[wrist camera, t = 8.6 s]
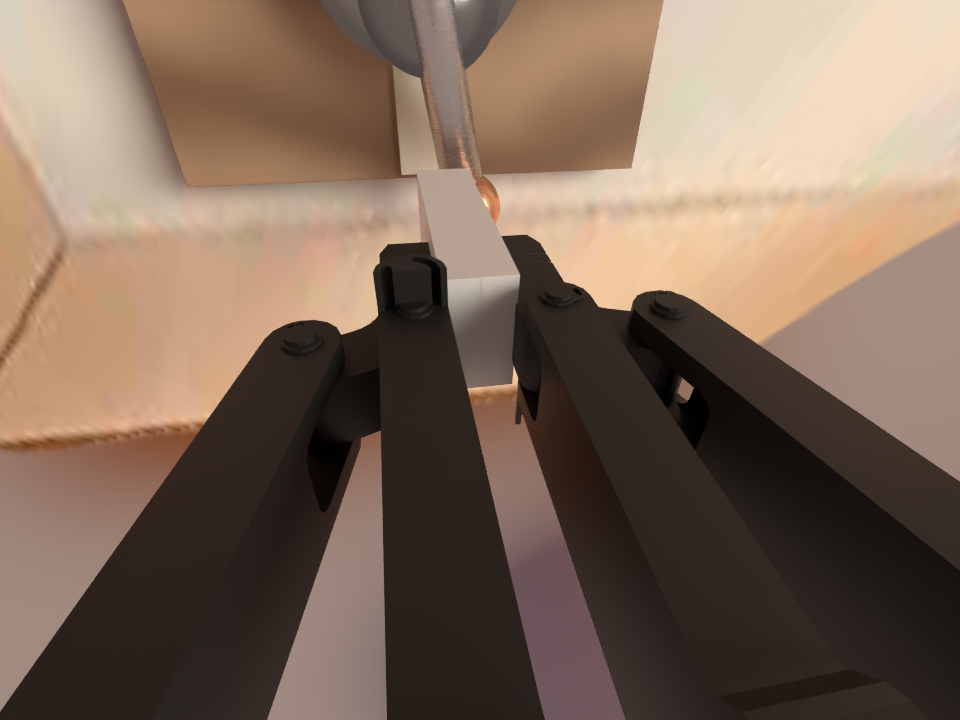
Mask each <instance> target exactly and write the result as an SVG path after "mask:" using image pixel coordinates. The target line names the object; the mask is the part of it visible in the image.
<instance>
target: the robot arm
mask: <svg viewBox="0 0 960 720" xmlns="http://www.w3.org/2000/svg"><path fill="white" fill-rule="evenodd" d="M417 184H418V200H419V216H420V231H421V243H405V244H388V245H387V246H386V247H385V249H384V250H383V251H382V252H381V253H380V263H379V264H378V265H377V266H376V267H375V269H374V272H373V276H374V284H375V291H376V299H377V306H378V317H377V318H376V319H375V320H374V321H373V322H372V323H370V324H369V325H367V326H365V327H363V328H361V329H359V330H356V331H353V332H350V333H346V334H343V335H341V334H340V332H339V330H338V329H337V327H335V326H333V325H331V324H330V323H328V322H323V321H317V320H308V321H297V322H293V323H290V324H287V325H284V326H282V327H280V328H278V329H276V330H274V331H273V332H272V333H271V334H270V335H269V336H268V337H266V338H265V339H264V341H263V342H262V344H261V345H260V346H259V348H258V349H257V351H256V352H255V354H254V355H253V356H252V358H251V359H250V361H249V362H248V363H247V365H246V366H245V368H244V369H243V370H242V372H241V373H240V375H239V376H238V377H237V379H236V380H235V382H234V383H233V384H232V386H231V387H230V389H229V390H228V392H227V393H226V394H225V396H224V397H223V399H222V400H221V401H220V403H219V404H218V406H217V407H216V408H215V410H214V411H213V413H212V414H211V415H210V417H209V418H208V420H207V421H206V423H205V424H204V425H203V427H202V428H201V430H200V431H199V432H198V434H197V435H196V437H195V438H194V439H193V441H192V442H191V444H190V445H189V447H188V448H187V450H186V451H185V452H184V454H183V455H182V456H181V458H180V459H179V461H178V462H177V463H176V465H175V466H174V468H173V469H172V471H171V472H170V473H169V475H168V476H167V477H166V479H165V480H164V482H163V483H162V485H161V486H160V487H159V489H158V490H157V492H156V493H155V494H154V496H153V497H152V499H151V500H150V502H149V503H148V504H147V506H146V507H145V508H144V510H143V511H142V513H141V514H140V516H139V517H138V518H137V520H136V521H135V523H134V524H133V526H132V527H131V528H130V530H129V531H128V533H127V534H126V535H125V537H124V538H123V539H122V541H121V542H120V544H119V545H118V547H117V548H116V549H115V551H114V552H113V554H112V555H111V556H110V558H109V559H108V561H107V562H106V563H105V565H104V566H103V568H102V569H101V571H100V572H99V573H98V575H97V576H96V577H95V579H94V581H93V582H92V583H91V585H90V586H89V587H88V589H87V590H86V592H85V593H84V595H83V596H82V597H81V599H80V600H79V601H78V603H77V604H76V606H75V607H74V608H73V610H72V611H71V613H70V614H69V616H68V617H67V618H66V620H65V621H64V623H63V624H62V626H61V627H60V628H59V630H58V631H57V632H56V634H55V635H54V637H53V638H52V640H51V641H50V642H49V644H48V645H47V647H46V648H45V649H44V651H43V652H42V654H41V655H40V656H39V658H38V659H37V661H36V662H35V663H34V665H33V666H32V668H31V669H30V671H29V672H28V673H27V675H26V676H25V678H24V679H23V680H22V682H21V683H20V685H19V686H18V687H17V689H16V690H15V692H14V693H13V694H12V696H11V697H10V699H9V700H8V701H7V703H6V704H5V706H4V707H3V709H2V710H1V712H0V720H267V718H268V715H269V712H270V710H271V706H272V703H273V701H274V698H275V695H276V692H277V689H278V686H279V683H280V680H281V677H282V674H283V672H284V669H285V666H286V663H287V660H288V657H289V654H290V651H291V648H292V645H293V642H294V640H295V637H296V634H297V630H298V628H299V625H300V622H301V619H302V616H303V613H304V610H305V607H306V604H307V601H308V598H309V596H310V593H311V590H312V587H313V584H314V581H315V578H316V575H317V572H318V569H319V567H320V563H321V561H322V557H323V555H324V552H325V549H326V546H327V543H328V540H329V537H330V534H331V531H332V529H333V525H334V523H335V520H336V517H337V514H338V511H339V508H340V505H341V502H342V499H343V496H344V493H345V491H346V488H347V485H348V482H349V478H350V476H351V473H352V470H353V467H354V464H355V461H356V458H357V455H358V452H359V450H360V447H361V438H362V437H365V436H367V435H370V434H372V433H375V432H378V431H381V458H382V499H383V500H382V505H383V547H384V596H385V597H384V598H385V644H386V688H387V690H386V691H387V720H545V719H544V715H543V711H542V707H541V703H540V700H539V695H538V691H537V686H536V682H535V678H534V673H533V669H532V665H531V661H530V656H529V652H528V648H527V643H526V640H525V635H524V630H523V626H522V623H521V618H520V613H519V609H518V605H517V600H516V596H515V592H514V587H513V583H512V579H511V574H510V571H509V566H508V562H507V557H506V553H505V549H504V544H503V540H502V536H501V532H500V527H499V523H498V519H497V514H496V510H495V506H494V501H493V498H492V493H491V489H490V484H489V480H488V476H487V471H486V467H485V463H484V458H483V454H482V450H481V446H480V441H479V437H478V433H477V428H476V424H475V420H474V416H473V411H472V407H471V403H470V398H469V394H468V390H467V388H475V387H485V386H494V385H504V384H512V379H513V365H514V367H515V370H516V373H517V376H518V389H517V401H516V414H515V424H520V423H521V415H522V414H523V416H524V419H525V422H526V425H527V428H528V431H529V434H530V437H531V440H532V443H533V446H534V449H535V452H536V455H537V458H538V461H539V464H540V467H541V470H542V473H543V476H544V479H545V482H546V485H547V488H548V491H549V494H550V497H551V499H552V502H553V505H554V508H555V511H556V514H557V517H558V520H559V523H560V526H561V529H562V532H563V535H564V538H565V541H566V544H567V547H568V550H569V553H570V556H571V559H572V562H573V565H574V567H575V571H576V574H577V576H578V580H579V582H580V585H581V588H582V591H583V594H584V597H585V600H586V603H587V606H588V609H589V612H590V615H591V618H592V621H593V624H594V627H595V630H596V633H597V636H598V638H599V642H600V644H601V648H602V651H603V654H604V657H605V660H606V663H607V666H608V668H609V671H610V674H611V677H612V680H613V683H614V686H615V689H616V692H617V695H618V698H619V701H620V704H621V707H622V710H623V713H624V716H625V719H626V720H960V482H959V481H958V480H957V479H955V478H954V477H952V476H950V475H949V474H948V473H946V472H945V471H943V470H942V469H940V468H939V467H937V466H936V465H934V464H933V463H931V462H930V461H928V460H927V459H926V458H924V457H923V456H921V455H920V454H918V453H917V452H915V451H914V450H912V449H911V448H910V447H908V446H906V445H905V444H904V443H902V442H901V441H899V440H898V439H896V438H895V437H893V436H892V435H890V434H889V433H887V432H886V431H885V430H883V429H881V428H880V427H879V426H877V425H876V424H874V423H873V422H871V421H870V420H868V419H867V418H865V417H864V416H862V415H861V414H859V413H858V412H857V411H855V410H854V409H852V408H851V407H849V406H848V405H846V404H845V403H843V402H842V401H840V400H839V399H837V398H836V397H835V396H833V395H832V394H830V393H829V392H827V391H826V390H824V389H823V388H821V387H820V386H818V385H817V384H815V383H814V382H812V381H811V380H810V379H808V378H807V377H805V376H804V375H802V374H801V373H799V372H798V371H796V370H795V369H793V368H792V367H790V366H789V365H787V364H786V363H784V362H783V361H782V360H780V359H779V358H777V357H776V356H774V355H773V354H771V353H770V352H768V351H767V350H765V349H764V348H763V347H761V346H760V345H758V344H757V343H755V342H754V341H752V340H751V339H749V338H748V337H746V336H745V335H743V334H742V333H740V332H739V331H738V330H736V329H735V328H733V327H732V326H730V325H729V324H727V323H726V322H724V321H723V320H721V319H720V318H718V317H717V316H715V315H714V314H713V313H711V312H710V311H708V310H707V309H705V308H704V307H702V306H701V305H699V304H698V303H696V302H695V301H693V300H691V299H689V298H687V297H685V296H683V295H679V294H676V293H674V292H671V291H666V292H665V291H660V290H658V291H650V292H645V293H642V294H640V295H637V297H636V298H635V299H634V301H633V304H632V308H631V311H624V310H615V309H606V308H601V307H598V306H597V304H596V303H595V301H594V300H593V298H592V297H591V295H590V294H589V293H587V292H586V291H585V290H584V289H583V288H580V287H578V286H576V285H574V284H570V283H565V282H564V281H563V279H562V278H561V276H560V275H559V273H558V271H557V270H556V268H555V267H554V265H553V263H551V260H550V259H549V257H548V255H546V252H545V251H544V249H543V247H542V246H541V244H540V243H539V242H538V241H536V240H534V239H533V238H531V237H529V236H528V235H514V236H501V235H500V233H499V231H498V229H497V227H496V225H495V223H494V221H493V219H492V216H491V214H490V212H489V210H488V208H487V206H486V204H485V202H484V200H483V198H482V196H481V194H480V192H479V190H478V188H477V186H476V184H475V182H474V180H473V178H472V176H471V174H470V172H469V170H468V168H463V169H436V170H417ZM682 378H683V379H684V380H686V381H687V382H688V383H689V384H690V385H691V386H693V387H694V389H693V392H692V394H691V397H690V399H689V400H686V399H684V398H683V397H681V396H680V395H679V394H678V393H677V392H678V389H679V386H680V383H681V380H682Z"/></svg>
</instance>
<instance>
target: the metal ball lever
mask: <svg viewBox="0 0 960 720" xmlns="http://www.w3.org/2000/svg"><path fill="white" fill-rule="evenodd" d="M319 1H320V2H321V4H322V6H323V7H324V9H325V10H326V12H327V13H328V14H329V16H330V17H331V18H332V20H333V21H334V22H335V24H336V25H337V26H338V27H339V28H340V29H341V30H342V31H343V32H344V33H345V34H346V35H347V36H348V37H349V38H350V39H351V40H353V41H354V42H355V43H356V44H357V45H358V46H360V47H361V48H363V49H364V50H366V51H367V52H369V53H370V54H372V55H373V56H375V57H378V58H380V59H382V60H384V61H386V62H388V63H391V64H393V65H394V66H395V67H397V68H398V69H400V70H401V71H403V72H405V73H407V74H409V75H412V76H415V77H418V78H420V81H421V85H422V90H423V95H424V100H425V105H426V110H427V115H428V120H429V124H430V129H431V134H432V139H433V144H434V149H435V154H436V159H437V164H438V168H439V169H463V168H468V170H469V172H470V174H471V176H472V178H473V180H474V182H475V184H476V186H477V188H478V190H479V192H480V194H481V196H482V198H483V200H484V202H485V204H486V206H487V208H488V210H489V212H490V214H491V216H492V219H493V221H494V223H495V224H496V222H497V220H498V217H499V212H500V201H499V196H498V194H497V191H496V189H495V187H494V186H493V184H492V183H491V182H490V181H489V180H488V179H487V178H485V177H484V176H482V171H481V164H480V158H479V151H478V145H477V138H476V132H475V125H474V118H473V112H472V105H471V99H470V92H469V85H468V79H467V72H466V69H467V68H468V67H470V66H471V65H472V64H473V63H474V62H475V61H476V60H477V59H478V58H479V57H480V56H481V55H482V53H483V52H484V50H485V49H486V47H487V46H488V44H489V42H490V40H491V39H492V37H493V36H494V35H495V34H496V33H497V32H498V31H499V30H500V28H501V27H502V25H503V24H504V22H505V21H506V20H507V18H508V17H509V15H510V13H511V11H512V9H513V7H514V5H515V4H516V2H517V0H319Z"/></svg>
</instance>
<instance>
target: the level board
mask: <svg viewBox="0 0 960 720" xmlns="http://www.w3.org/2000/svg"><path fill="white" fill-rule="evenodd" d="M123 3H124V6H125V8H126V11H127V14H128V17H129V20H130V23H131V26H132V29H133V31H134V34H135V37H136V40H137V43H138V46H139V49H140V52H141V55H142V57H143V60H144V63H145V66H146V69H147V72H148V75H149V78H150V81H151V83H152V86H153V89H154V92H155V95H156V98H157V101H158V104H159V107H160V109H161V112H162V115H163V118H164V121H165V124H166V127H167V130H168V132H169V135H170V138H171V141H172V144H173V147H174V150H175V153H176V156H177V158H178V161H179V164H180V167H181V170H182V173H183V176H184V179H185V182H186V184H187V187H197V186H221V185H245V184H269V183H292V182H316V181H340V180H364V179H388V178H411V177H417V170H436V169H439V168H438V164H437V159H436V154H435V149H434V144H433V139H432V134H431V129H430V124H429V120H428V115H427V110H426V105H425V100H424V95H423V90H422V85H421V81H420V78H418V77H415V76H412V75H409V74H407V73H405V72H403V71H401V70H400V69H398V68H397V67H395V66H394V65H393V64H391V63H388V62H386V61H384V60H382V59H380V58H378V57H375V56H373V55H372V54H370V53H369V52H367V51H366V50H364V49H363V48H361V47H360V46H358V45H357V44H356V43H355V42H354V41H353V40H351V39H350V38H349V37H348V36H347V35H346V34H345V33H344V32H343V31H342V30H341V29H340V28H339V27H338V26H337V25H336V24H335V22H334V21H333V20H332V18H331V17H330V16H329V14H328V13H327V12H326V10H325V9H324V7H323V6H322V4H321V2H320V1H319V0H123ZM662 5H663V0H517V2H516V4H515V5H514V7H513V9H512V11H511V13H510V15H509V17H508V18H507V20H506V21H505V22H504V24H503V25H502V27H501V28H500V30H499V31H498V32H497V33H496V34H495V35H494V36H493V37H492V39H491V40H490V42H489V44H488V46H487V47H486V49H485V50H484V52H483V53H482V55H481V56H480V57H479V58H478V59H477V60H476V61H475V62H474V63H473V64H472V65H471V66H470V67H468V68H467V69H466V72H467V79H468V85H469V92H470V99H471V105H472V112H473V118H474V125H475V132H476V138H477V145H478V151H479V158H480V164H481V171H482V175H483V174H506V173H530V172H554V171H578V170H601V169H625V168H631V167H632V162H633V157H634V151H635V146H636V141H637V136H638V130H639V125H640V120H641V115H642V110H643V104H644V99H645V94H646V89H647V83H648V78H649V73H650V68H651V62H652V57H653V52H654V47H655V42H656V36H657V31H658V26H659V21H660V15H661V10H662Z"/></svg>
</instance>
